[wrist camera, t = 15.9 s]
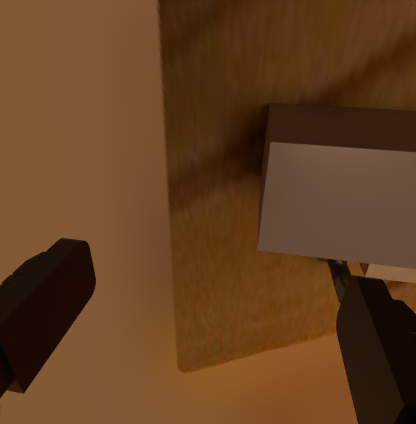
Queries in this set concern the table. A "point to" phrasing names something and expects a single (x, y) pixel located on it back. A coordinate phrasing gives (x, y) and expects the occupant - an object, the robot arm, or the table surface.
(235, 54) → the table surface
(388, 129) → the block
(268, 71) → the table surface
